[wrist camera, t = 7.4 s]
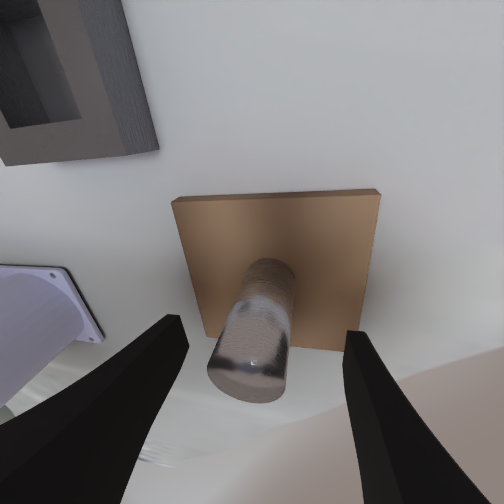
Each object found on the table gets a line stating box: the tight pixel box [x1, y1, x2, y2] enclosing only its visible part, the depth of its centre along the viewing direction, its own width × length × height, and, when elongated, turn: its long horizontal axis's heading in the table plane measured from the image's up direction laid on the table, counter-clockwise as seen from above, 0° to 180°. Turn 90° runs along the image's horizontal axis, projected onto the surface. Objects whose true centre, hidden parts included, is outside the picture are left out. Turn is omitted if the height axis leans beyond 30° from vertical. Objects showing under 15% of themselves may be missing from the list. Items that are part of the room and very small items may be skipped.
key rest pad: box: [171, 189, 381, 352], centre depth 14 cm, size 10×10×1 cm
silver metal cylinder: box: [207, 258, 295, 403], centre depth 11 cm, size 3×3×6 cm
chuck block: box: [0, 0, 159, 166], centre depth 10 cm, size 7×7×2 cm
